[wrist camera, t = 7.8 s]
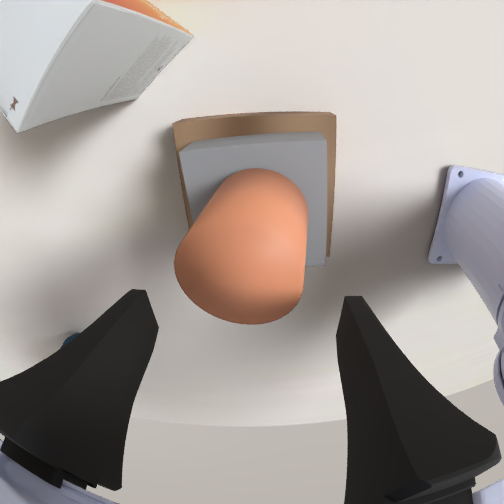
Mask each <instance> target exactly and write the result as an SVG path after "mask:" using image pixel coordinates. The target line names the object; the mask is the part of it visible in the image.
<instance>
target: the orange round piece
mask: <svg viewBox="0 0 504 504" xmlns="http://www.w3.org/2000/svg"><path fill="white" fill-rule="evenodd" d="M307 229H308V207H307V203H306V200H305V198H304V196H303V194H302V192H301V191H300V189H299V188H298V187H297V186H296V185H295V184H294V183H293V182H292V181H291V180H290V179H288V178H287V177H285V176H284V175H282V174H280V173H278V172H275V171H272V170H268V169H261V168H251V169H245V170H242V171H238V172H236V173H234V174H232V175H231V176H229V177H228V178H227V179H225V180H224V181H223V182H222V184H221V185H220V186H219V188H218V189H217V190H216V192H215V193H214V195H213V196H212V198H211V199H210V200H209V202H208V203H207V205H206V206H205V208H204V209H203V211H202V212H201V214H200V215H199V216H198V218H197V219H196V221H195V222H194V224H193V225H192V227H191V228H190V230H189V231H188V233H187V234H186V236H185V237H184V239H183V240H182V242H181V244H180V245H179V247H178V249H177V251H176V255H175V260H174V269H175V274H176V277H177V280H178V282H179V284H180V286H181V288H182V290H183V291H184V293H185V294H186V295H187V296H188V297H189V298H190V299H191V300H192V301H193V302H194V303H195V304H196V305H197V306H199V307H200V308H201V309H203V310H204V311H206V312H207V313H209V314H211V315H213V316H215V317H218V318H220V319H223V320H226V321H229V322H233V323H239V324H263V323H268V322H272V321H275V320H277V319H280V318H282V317H283V316H285V315H287V314H288V313H289V312H290V311H292V310H293V309H294V307H295V306H296V305H297V303H298V302H299V300H300V298H301V295H302V292H303V285H304V273H305V260H306V245H307Z"/></svg>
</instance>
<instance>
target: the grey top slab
mask: <svg viewBox="0 0 504 504" xmlns="http://www.w3.org/2000/svg"><path fill="white" fill-rule="evenodd" d="M179 156H180V161H181V166H182V172H183V177H184V182H185V186H186V191H187V196H188V201H189V206H190V210H191V215H192V219H193V224H194V222H195V221H196V219H197V218H198V216H199V215H200V214H201V212H202V211H203V209H204V208H205V206H206V205H207V203H208V202H209V200H210V199H211V198H212V196H213V195H214V193H215V192H216V190H217V189H218V188H219V186H220V185H221V184H222V182H223V181H224V180H225V179H227V178H228V177H229V176H231V175H232V174H234V173H236V172H238V171H242V170H245V169H251V168H261V169H268V170H272V171H275V172H278V173H280V174H282V175H284V176H285V177H287V178H288V179H290V180H291V181H292V182H293V183H294V184H295V185H296V186H297V187H298V188H299V189H300V191H301V192H302V194H303V196H304V198H305V200H306V203H307V207H308V229H307V245H306V260H305V266H325V263H326V239H327V140H326V139H325V138H324V136H323V135H322V134H321V132H320V131H316V132H286V133H269V134H255V135H244V136H233V137H224V138H215V139H207V140H200V141H193V142H192V143H190V144H189V145H188V146H186V147H185V148H184V149H183V150H181V151H180V152H179Z"/></svg>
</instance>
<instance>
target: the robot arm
mask: <svg viewBox="0 0 504 504" xmlns="http://www.w3.org/2000/svg"><path fill="white" fill-rule="evenodd" d="M459 171H461V174H460V175H459V176H458V173H459ZM439 256H440V258H438V257H439ZM437 258H438V259H437ZM428 261H429V262H430V263H431V264H459V266H460V267H461V268H462V270H463V271H464V273H465V274H466V276H467V277H468V278H469V280H470V281H471V283H472V284H473V286H474V287H475V289H476V291H477V292H478V294H479V295H480V297H481V298H482V300H483V302H484V303H485V305H486V306H487V308H488V310H489V311H490V313H491V315H492V316H493V318H494V320H495V322H496V323H497V325H498V329H497V332H496V334H495V335H494V340H495V342H496V344H497V346H498V348H499V350H500V351H499V353H498V354H497V357H496V359H495V362H494V369H493V374H494V382H495V387H496V390H497V393H498V395H499V398H500V400H501V402H502V403H503V405H504V175H503V174H498V173H493V172H489V171H484V170H479V169H473V168H468V167H462V166H456V165H452V166H450V167H449V169H448V172H447V178H446V184H445V189H444V194H443V199H442V204H441V208H440V213H439V217H438V221H437V225H436V229H435V233H434V237H433V240H432V244H431V248H430V251H429V255H428ZM158 329H159V327H158V324H157V321H156V318H155V316H154V313H153V310H152V307H151V304H150V301H149V298H148V296H147V293H146V290H136V289H132V290H130V291H129V292H128V293H126V294H125V295H124V296H123V297H122V298H121V299H119V300H118V301H117V302H116V303H115V304H114V305H113V306H111V307H110V308H109V309H108V310H107V311H106V312H105V313H104V314H102V315H101V316H100V317H99V318H98V319H97V320H96V321H95V322H93V323H92V324H91V325H90V326H89V327H87V328H86V329H85V330H84V331H83V332H81V333H80V334H79V335H78V336H77V337H75V338H74V339H73V340H72V341H70V342H69V343H68V344H66V345H65V346H64V347H62V348H61V349H60V350H58V351H57V352H55V353H54V354H52V355H51V356H49V357H48V358H46V359H44V360H43V361H41V362H39V363H38V364H36V365H34V366H33V367H31V368H29V369H27V370H25V371H23V372H22V373H19V374H17V375H15V376H13V377H11V378H9V379H6V380H4V381H1V382H0V433H1V434H2V435H4V436H5V439H4V441H2V440H1V439H0V504H118V503H116V502H113V501H110V500H108V499H105V498H103V497H100V496H98V495H96V494H93V493H91V492H89V491H86V487H87V485H89V486H91V487H93V488H96V487H97V484H98V485H100V486H103V487H105V488H108V489H110V490H113V491H116V490H118V489H120V488H122V465H123V455H124V447H125V440H126V434H127V429H128V424H129V419H130V415H131V410H132V406H133V403H134V400H135V396H136V394H137V391H138V388H139V386H140V383H141V381H142V378H143V375H144V373H145V370H146V368H147V365H148V363H149V360H150V357H151V355H152V352H153V349H154V345H155V342H156V338H157V333H158ZM336 342H337V357H338V365H339V371H340V377H341V383H342V389H343V395H344V401H345V407H346V415H347V428H348V429H347V431H348V458H347V461H348V462H347V479H346V492H345V502H344V504H504V479H501V480H499V481H497V482H495V483H494V484H491V485H489V486H487V487H485V488H483V489H481V490H479V491H477V492H474V493H472V490H471V488H472V487H474V486H475V484H476V483H475V477H476V476H477V475H479V474H481V473H483V472H484V471H486V470H488V469H490V468H491V467H493V466H494V465H496V464H497V463H499V462H500V460H501V454H500V449H499V445H498V441H497V438H496V435H495V434H494V433H492V432H491V431H489V430H488V429H486V428H484V427H483V426H481V425H479V424H478V423H477V422H475V421H474V420H472V419H471V418H470V417H468V416H467V415H466V414H464V413H463V412H462V411H460V410H459V409H458V408H457V407H455V406H454V405H453V404H452V403H451V402H450V401H449V400H447V399H446V398H445V397H444V396H443V395H442V394H441V393H440V392H438V391H437V390H436V389H435V388H434V387H433V386H432V385H431V384H430V383H429V382H428V381H427V380H426V379H425V378H424V377H423V376H422V375H421V373H420V372H419V371H418V370H417V369H416V368H415V367H414V366H413V364H412V363H411V362H410V361H409V360H408V358H407V357H406V356H405V355H404V354H403V352H402V351H401V350H400V349H399V347H398V346H397V345H396V343H395V342H394V341H393V339H392V338H391V337H390V335H389V334H388V333H387V331H386V330H385V328H384V327H383V326H382V324H381V323H380V321H379V320H378V319H377V317H376V316H375V314H374V313H373V311H372V310H371V308H370V307H369V306H368V304H367V303H366V301H365V300H364V298H363V297H362V296H345V298H344V303H343V307H342V312H341V316H340V321H339V325H338V329H337V334H336Z"/></svg>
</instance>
